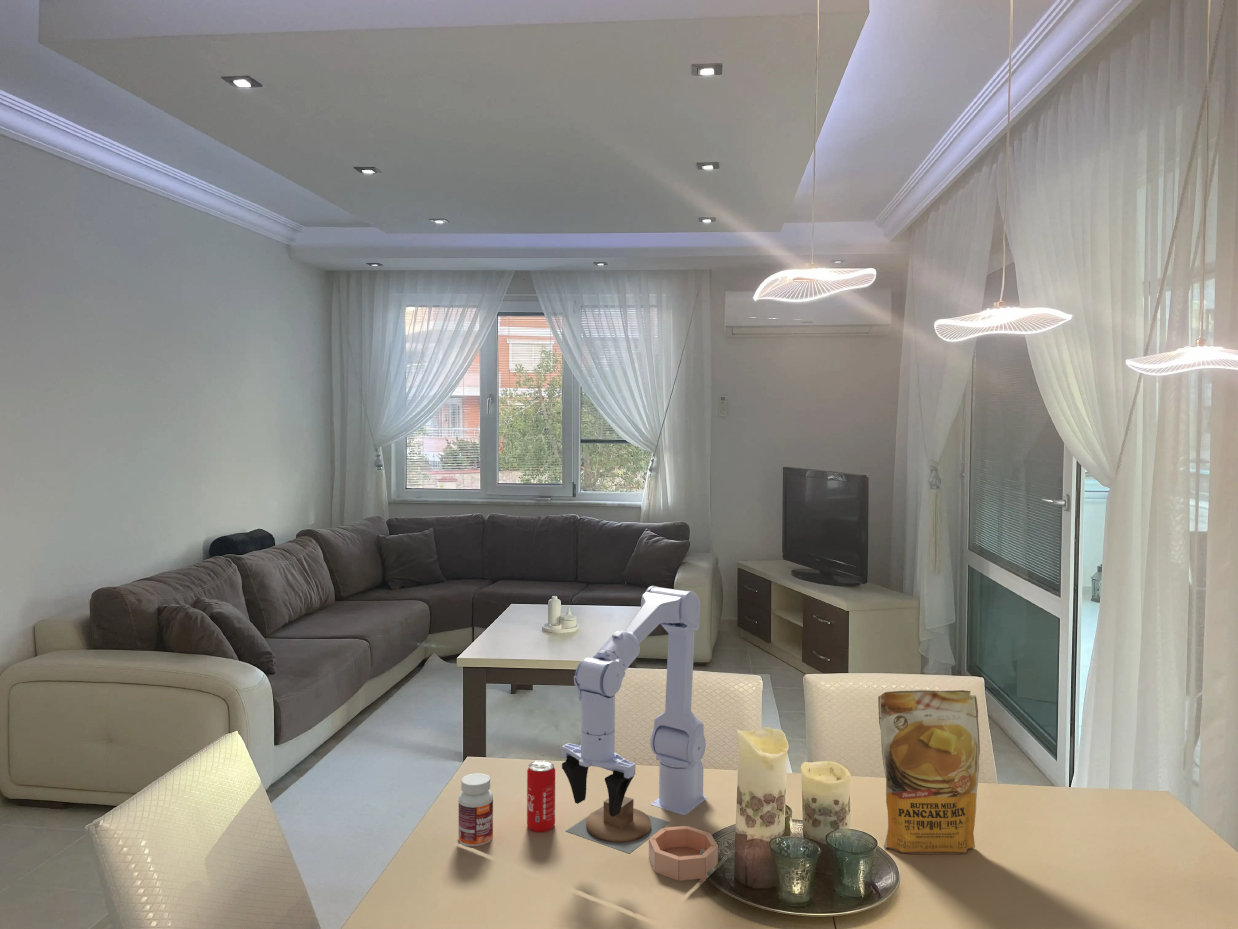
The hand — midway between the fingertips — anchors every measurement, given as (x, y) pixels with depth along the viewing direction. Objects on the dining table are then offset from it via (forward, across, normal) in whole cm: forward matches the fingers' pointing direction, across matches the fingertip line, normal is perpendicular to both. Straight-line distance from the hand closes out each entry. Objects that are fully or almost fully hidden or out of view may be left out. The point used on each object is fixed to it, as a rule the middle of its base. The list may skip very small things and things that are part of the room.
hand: (597, 807), depth 141 cm
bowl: (+10, +12, +9) cm, 18 cm away
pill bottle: (+10, -22, -7) cm, 26 cm away
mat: (+10, -4, +12) cm, 16 cm away
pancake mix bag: (+10, +43, +42) cm, 61 cm away
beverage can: (+10, -16, +4) cm, 19 cm away
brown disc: (+10, -4, +12) cm, 16 cm away
